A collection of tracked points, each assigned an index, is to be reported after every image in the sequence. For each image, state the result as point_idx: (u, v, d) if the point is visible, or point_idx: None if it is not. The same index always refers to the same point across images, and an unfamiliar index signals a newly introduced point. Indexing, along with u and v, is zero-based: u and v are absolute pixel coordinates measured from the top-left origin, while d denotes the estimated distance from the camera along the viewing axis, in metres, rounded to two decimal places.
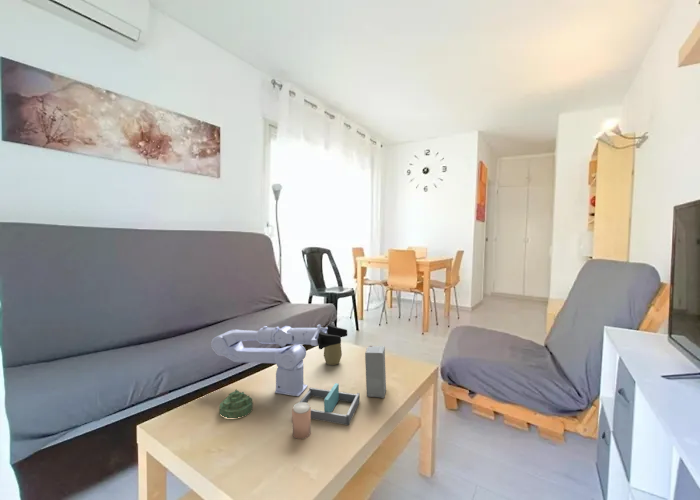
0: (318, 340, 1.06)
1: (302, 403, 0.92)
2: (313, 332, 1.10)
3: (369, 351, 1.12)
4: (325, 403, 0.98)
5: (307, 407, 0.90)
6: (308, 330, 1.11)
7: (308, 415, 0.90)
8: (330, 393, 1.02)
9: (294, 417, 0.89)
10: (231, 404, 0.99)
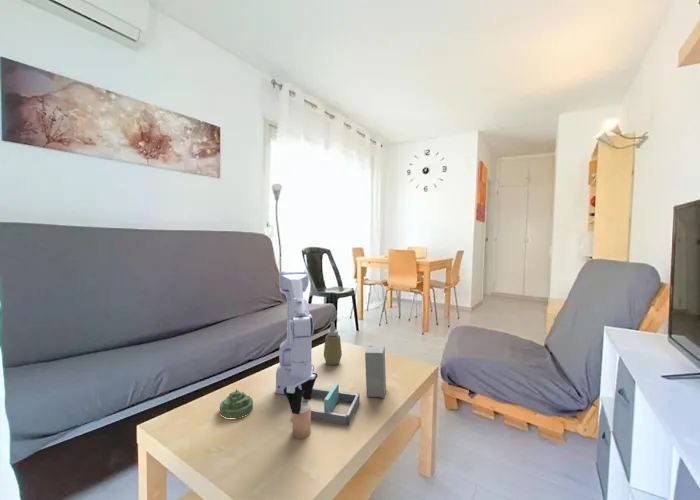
0: None
1: (302, 403, 0.92)
2: (304, 374, 0.88)
3: (369, 351, 1.12)
4: (325, 403, 0.98)
5: (307, 407, 0.90)
6: (307, 366, 0.88)
7: (308, 415, 0.90)
8: (330, 393, 1.02)
9: (294, 417, 0.89)
10: (232, 404, 0.99)
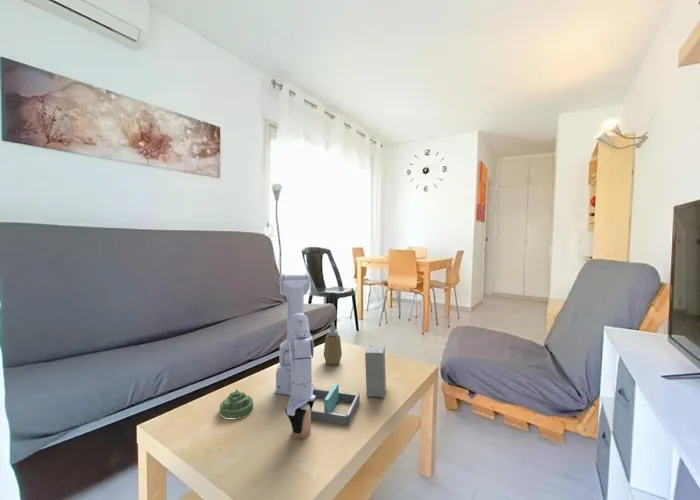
0: (295, 412, 0.86)
1: None
2: (304, 395, 0.88)
3: (369, 351, 1.12)
4: (325, 403, 0.98)
5: (307, 407, 0.90)
6: (307, 387, 0.88)
7: (308, 415, 0.90)
8: (330, 393, 1.02)
9: None
10: (232, 405, 0.99)
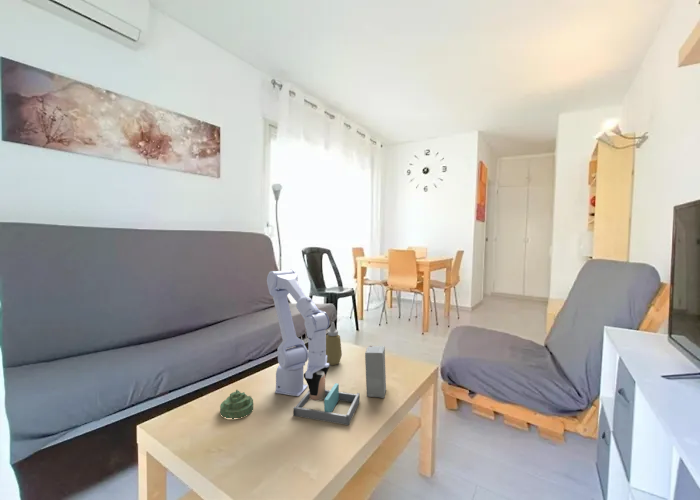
0: None
1: None
2: (320, 363, 1.02)
3: (369, 351, 1.12)
4: (325, 403, 0.98)
5: (322, 373, 1.04)
6: (322, 356, 1.02)
7: (323, 380, 1.03)
8: (330, 393, 1.02)
9: None
10: (232, 405, 0.99)
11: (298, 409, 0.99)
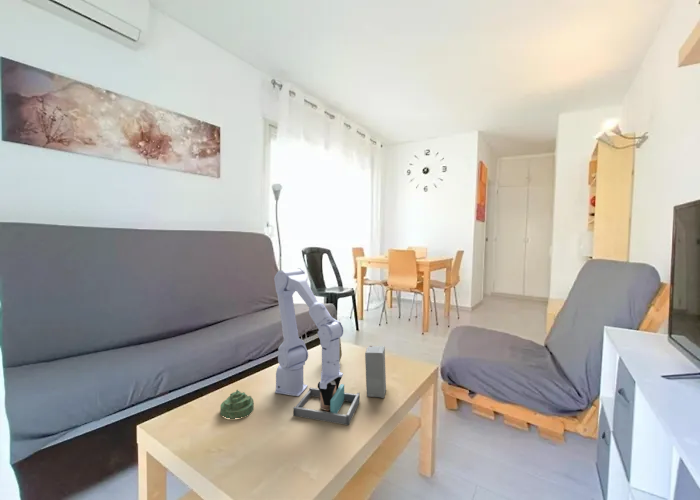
0: None
1: None
2: (334, 372, 1.00)
3: (369, 351, 1.12)
4: (331, 404, 0.97)
5: (333, 383, 1.03)
6: (336, 365, 1.01)
7: (334, 390, 1.02)
8: (336, 394, 1.01)
9: None
10: (232, 405, 0.99)
11: (298, 409, 0.99)
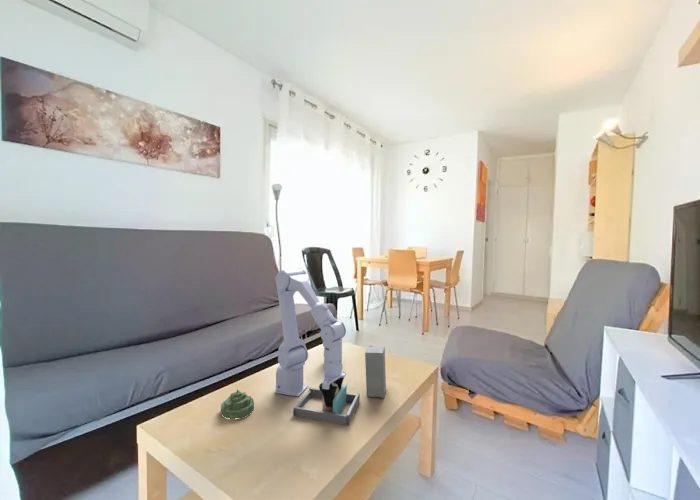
0: None
1: None
2: (336, 373, 1.00)
3: (369, 351, 1.12)
4: (334, 404, 0.97)
5: None
6: (338, 366, 1.01)
7: None
8: (338, 394, 1.01)
9: None
10: (233, 405, 0.99)
11: (298, 409, 0.99)
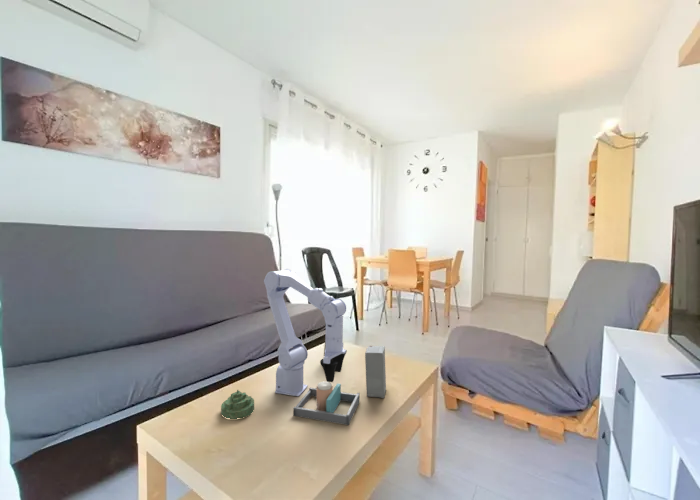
0: None
1: (325, 382, 1.05)
2: (337, 349, 1.03)
3: (369, 351, 1.12)
4: (327, 403, 0.98)
5: (329, 385, 1.03)
6: (339, 342, 1.04)
7: None
8: (332, 393, 1.02)
9: (319, 393, 1.02)
10: (233, 405, 0.99)
11: (298, 409, 0.99)
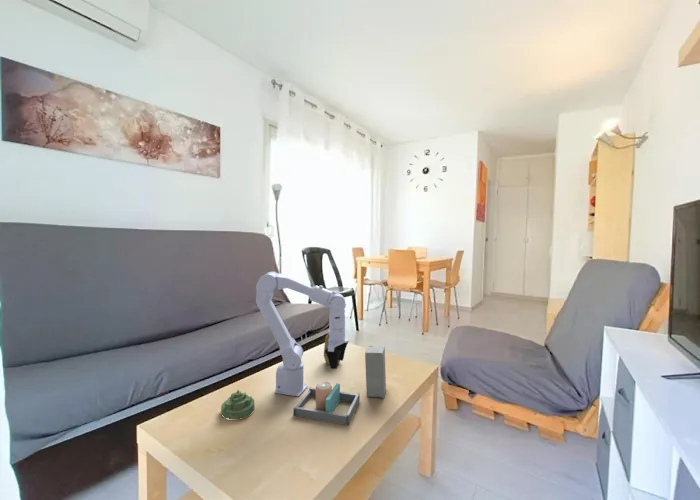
0: None
1: (324, 382, 1.05)
2: (340, 338, 1.13)
3: (369, 351, 1.12)
4: (326, 403, 0.98)
5: (329, 385, 1.03)
6: (342, 332, 1.13)
7: None
8: (331, 393, 1.02)
9: (318, 393, 1.02)
10: (233, 405, 0.99)
11: (298, 409, 0.99)
